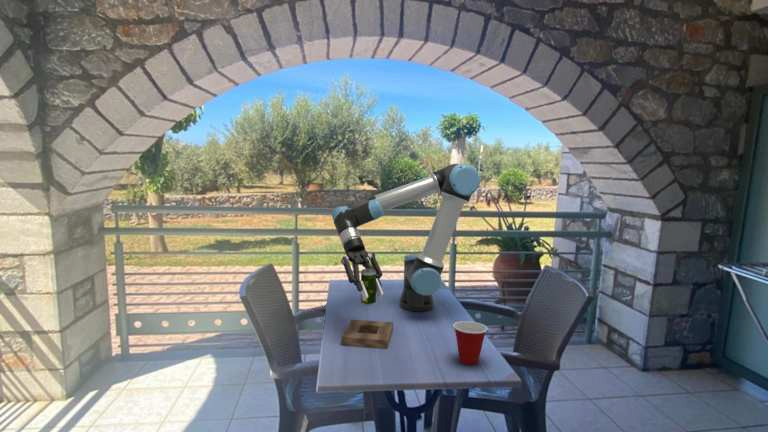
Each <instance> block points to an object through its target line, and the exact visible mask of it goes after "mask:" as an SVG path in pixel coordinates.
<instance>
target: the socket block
mask: <svg viewBox="0 0 768 432" xmlns="http://www.w3.org/2000/svg"><path fill="white" fill-rule="evenodd" d="M393 332H394V322H393V321H380V320H379V321H378V320H367V319H366V320H364V319H363V320H362V319H350V321H349V323H348V325H347V327H346V328H345V330H344V332H343V333H342V335H341V340H340V342H341V346H346V347H348V346H349V347H359V348H360V347H361V348H370V349H371V348H374V349H386V350H388V347H389V344H390V341H391V338H392V335H393Z"/></svg>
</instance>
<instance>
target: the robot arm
mask: <svg viewBox="0 0 768 432" xmlns="http://www.w3.org/2000/svg"><path fill="white" fill-rule="evenodd" d="M480 183H481V177H480V174H479V172H478V170H477V169H476V168H475V167H473V165H470V164H467V163H451V164H449V165H446V166H445V167H443V168H440V169H439V170H436V171H432V172H431V173H430V175H429V176H426V177H423V178H419V179H418V180H415V181H412V182H409V183H407V184H404V185H400V186H397V187H395V188H392V189H390V190H386V191H383V192H381V193H378V194H375V195H373V196H370V197H366V198H365V197H364V198H362V199H360V200H358V202H357V203H356V206H355V207H352V208H349V206H347V205H342V206H337V207H335V208H334V209H333V211H332V213H331V218H332V221H333V225H334V227H335V229H336V231H337V234H338V237H339V240H340V242H341V244H342V247H343V250H344V253H345V255H346V256H342V258H341V260H340V263H341V264H342V266H343V267H344V270H345V273H346V276H347V279H348V282H349V283H350V284H353V285H354V286H356V289H357V291H358V292H359V293H360V295H361V294H362V297H363V300H364V301H365V300H366V299H367V298H368V297H369V296H368V294H367V291H366V289H365V286H364V284H363V281H362V280H361V275H360V269H359V268H360V267H359V266H362V267H363V268H364V269H374V270H376V295H377V297H378V298H379V299H380V298H382V297H383V295H384V292H383V288H382V286H383V285H382V282H381V281H380V280H381V278H382V277H383V275H384V274H383V272H382V270H381V267H380V265H379V263H378V260H377V259H376V253H374V252H372V253H369V252H368V251H367V250H366V246H365V244H364V241H363V239H362V236H361V233H360V231H359V229H358V227H361V226H363V225H365V224H368V223H370V222H373V221H376V220H378V219H380V218H381V217H383V216H384V215H385V211H388V210H391V209H393V208H396V207H400V206H403V205H405V204H407V203H411V202H414V201H416V200H419V199H422V198H425V197H428V196H430V195H433V194H437V195H441V196H442V200H441V202H440V204H439V208H438V210H437V212H436V215H435V218H434V221H433V223H432V226H431V228H430V231H429V234H428V237H427V239H426V241H425V245H424V246H423V250H422V252H421V253H410V254H406V255H405V256H404V258H403V259H404V261H403V289H402V292H401V294H400V297H399V303H398V304H399V307H400V308H401V309H403V310H407V311H411V312H427V311H429V310H432V309H433V308H434V306H435V305H434V304H435V302H434V301H435V300H434V297H433V294H435V293H437V292H439V291H438V290H440V288H441V286H442V276H441V275H442V273H443V270H444V267H445V265H444V262H443V260H444V258H445V255H446V252H447V249H448V247H449V244H450V242H451V239H452V236H453V234H454V231H455V228H456V225H457V223H458V221H459V218H460V215H461V213H462V211H463V207H464V205H466V204H468V203H469V202H470V200H471V198H472V195H473V194H474V193H475V192H477V190H478V189H479V187H480Z"/></svg>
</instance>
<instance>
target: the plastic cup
mask: <svg viewBox="0 0 768 432" xmlns="http://www.w3.org/2000/svg"><path fill="white" fill-rule="evenodd" d="M453 329H454V330H455V331H454V332H455V337H456V346H457V352H458V358H459V359H458V360H459V362H460V363H462V364H463V365H466V366H475V365H477V364H478V363H479V360H480V355H481V353H482V347H483V342H484V339H485V336H486V333H487V331H488V326H487V325H485V324H483V323H481V322H475V321H467V320H466V321H463V320H462V321H456V322H454V323H453Z"/></svg>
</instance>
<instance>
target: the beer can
mask: <svg viewBox="0 0 768 432" xmlns="http://www.w3.org/2000/svg"><path fill="white" fill-rule="evenodd" d="M361 280H362V281H363V284H364V286H365V289H366V291H367V294H368V296H369V297H368V298H367V299H366V300H365V301H364V300H363V297H362V294H361V293H360V302H361V305H363V306H368V307H369V306H374V305H375V304H376V301H377V292H376V270H374V269H366V268H364V269H362V270H361V273H360V281H361Z"/></svg>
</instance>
